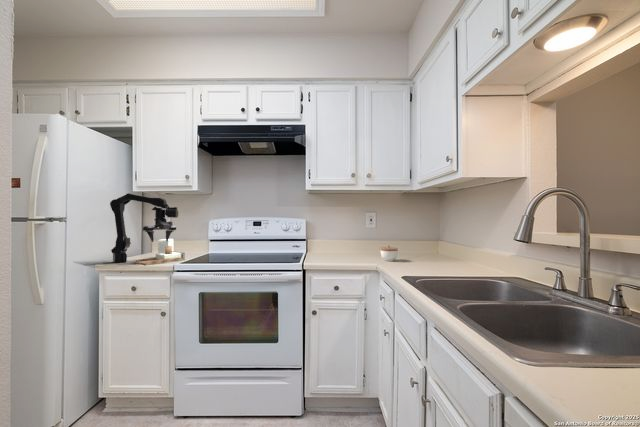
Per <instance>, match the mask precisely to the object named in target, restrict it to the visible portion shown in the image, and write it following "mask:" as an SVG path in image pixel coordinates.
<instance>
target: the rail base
mask: <svg viewBox="0 0 640 427" xmlns="http://www.w3.org/2000/svg"><path fill="white" fill-rule="evenodd" d="M172 252H174V253H181V257H180V258H172V259H164V260H157V259H156V257H151V258H150V257H149V258H142V259H136V260H135V264H137V263H138V265H143V266H151V265H152V266H153V265H159V264H167V263H174V262H182V260H183V261H185V260H186V253H185V252H182V251H176V250H173V251H172Z"/></svg>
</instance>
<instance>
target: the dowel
mask: <svg viewBox="0 0 640 427" xmlns="http://www.w3.org/2000/svg"><path fill="white" fill-rule="evenodd" d="M165 254H166V255H167V254H172V246H165Z"/></svg>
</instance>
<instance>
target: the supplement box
mask: <svg viewBox="0 0 640 427" xmlns="http://www.w3.org/2000/svg"><path fill="white" fill-rule="evenodd" d="M157 242H158V244H157V247H158V250H157V251H158V252H157V254H161V253H165V246H172V251H174V238H169V239H168V241H166V238H163V239H158V241H157Z"/></svg>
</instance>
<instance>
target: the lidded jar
mask: <svg viewBox="0 0 640 427" xmlns="http://www.w3.org/2000/svg"><path fill="white" fill-rule="evenodd" d="M379 249H380V250H379V251H380V257H381V259H382V260H384V261H385V262H394V261H395V260H396V259H397V257H398V250H399V249H398V248H397V247H391V246H390V245H387V247H380V248H379Z"/></svg>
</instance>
